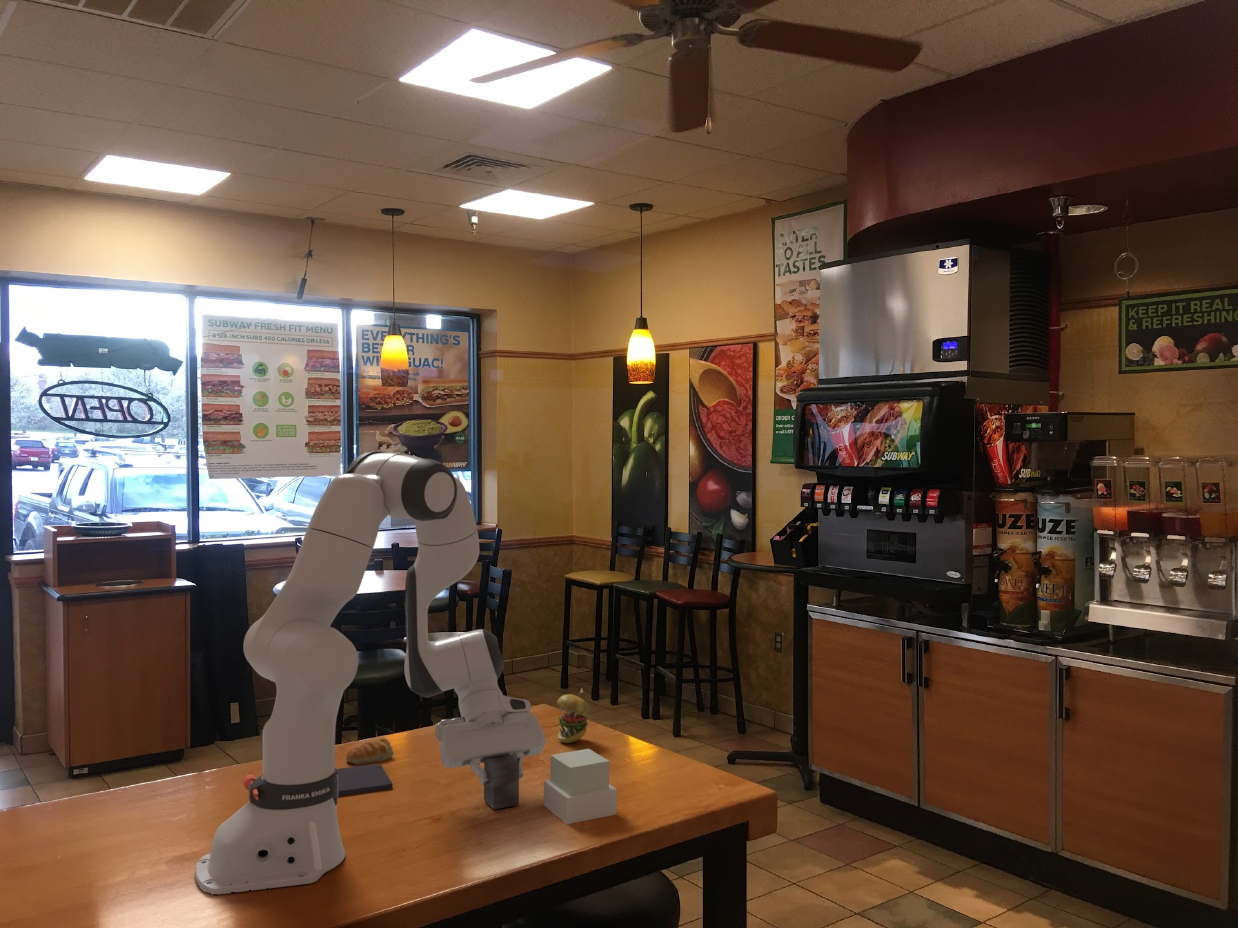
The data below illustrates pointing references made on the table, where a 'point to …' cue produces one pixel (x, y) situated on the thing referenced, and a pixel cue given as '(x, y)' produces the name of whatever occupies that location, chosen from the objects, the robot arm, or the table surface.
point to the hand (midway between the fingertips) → (502, 780)
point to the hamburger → (572, 718)
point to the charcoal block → (502, 781)
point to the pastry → (371, 752)
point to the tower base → (580, 803)
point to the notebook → (362, 779)
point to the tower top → (579, 771)
